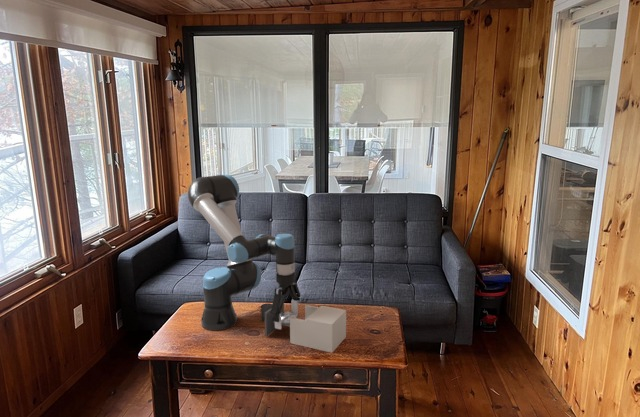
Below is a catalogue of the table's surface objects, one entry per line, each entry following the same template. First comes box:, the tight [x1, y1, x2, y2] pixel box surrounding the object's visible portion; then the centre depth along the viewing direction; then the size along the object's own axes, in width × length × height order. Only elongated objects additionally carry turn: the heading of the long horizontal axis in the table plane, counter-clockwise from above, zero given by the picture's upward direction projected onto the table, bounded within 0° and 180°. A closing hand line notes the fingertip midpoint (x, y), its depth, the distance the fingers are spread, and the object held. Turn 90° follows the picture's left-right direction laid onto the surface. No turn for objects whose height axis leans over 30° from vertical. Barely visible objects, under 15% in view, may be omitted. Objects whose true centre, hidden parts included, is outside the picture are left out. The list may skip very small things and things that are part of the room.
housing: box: [289, 304, 347, 354], centre depth 174 cm, size 18×14×12 cm
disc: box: [281, 311, 298, 326], centre depth 180 cm, size 8×8×2 cm
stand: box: [260, 303, 273, 322], centre depth 194 cm, size 6×6×6 cm
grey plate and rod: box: [264, 302, 290, 337], centre depth 179 cm, size 18×14×10 cm
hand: (286, 321), depth 180 cm, fingers open, 13 cm apart
